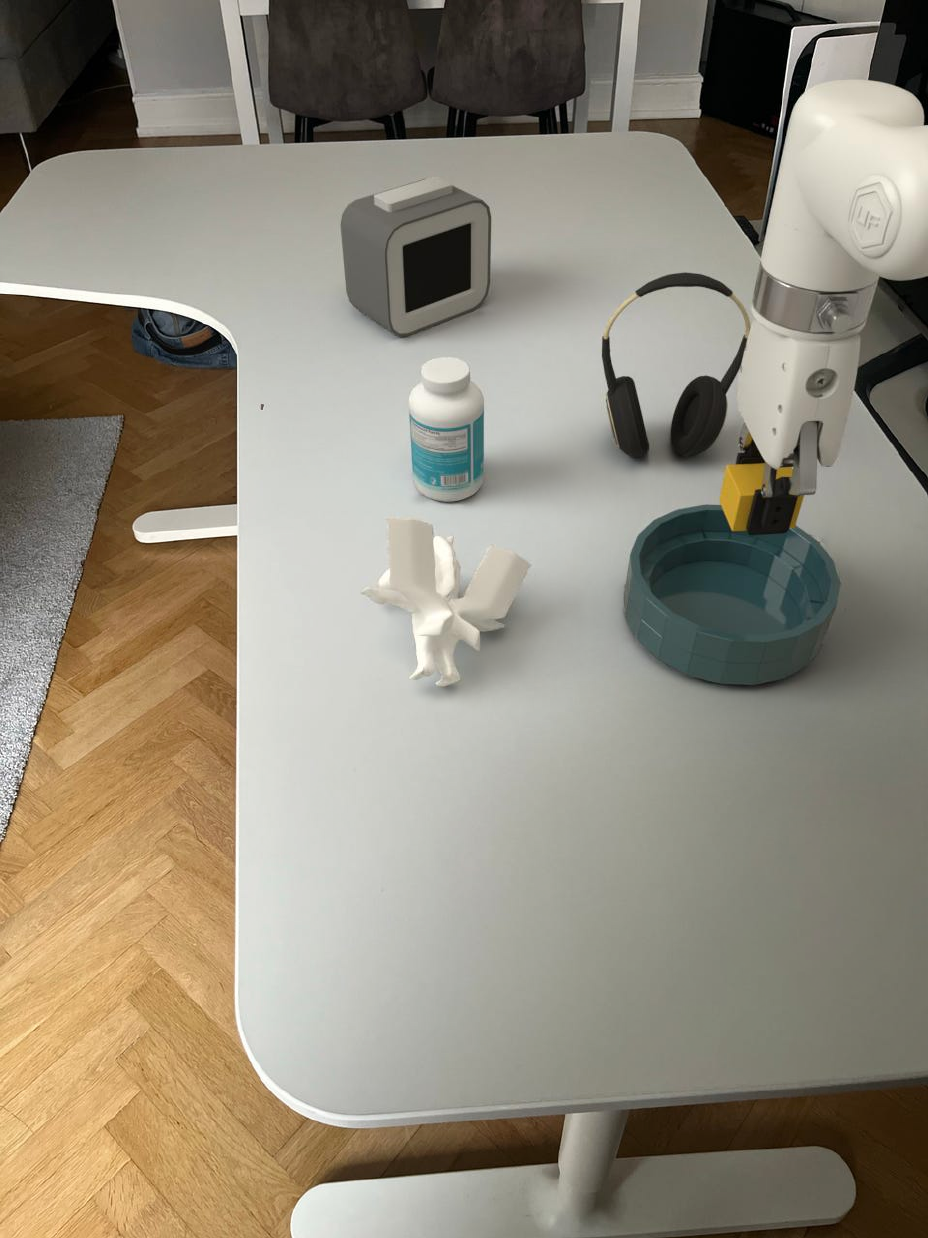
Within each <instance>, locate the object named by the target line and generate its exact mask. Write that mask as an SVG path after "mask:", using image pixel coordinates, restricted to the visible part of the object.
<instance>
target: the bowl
mask: <svg viewBox="0 0 928 1238" xmlns="http://www.w3.org/2000/svg"><path fill="white" fill-rule="evenodd" d="M841 582H842V581H841V579H840V577H839V573H838V570H837V567H836V564H835V561H834V559H833V558H832V557H831V556H830V554H829V553H828V552H827V551H826V549H825V548H824V547H823V546H822V544H821V543H820V542H819V541H818V540H817V539H815V537H813V536H812V535H810V534H809V533H807V532H806V531H805V530H804V529H802V528H801V527H799V526H798V525H797V524H796V525H795V528H789V530H788V531H787V532H786V533H783V534H767V535H749V534H748V532H747V531H732V530H731V527H730V525H729V523H728V520H727V518H726V516H725V513H724V511H723V509H722V506H721V504H700V505H695V506H689V507H683V508H678V509H675V510H673V511H671V512H667V513H666V514H664V515H661V516H659V517H657V518H655V519H653V520H652V521H651V522H650V523H649V524H648V525H647V526H646V527H645V528H644V529H642V531H640V533H638V534H637V536H636V538H635V541H634V543H633V545H632V549H631V551H630V553H629V560H628V566H627V573H626V579H625V585H624V592H623V606H624V617H625V620H626V622H627V624H628V626H629V628H630V629H631V632H632V633H633V636H634V637H635V639H636V640H637V641H638V642H639V643H640V644H641V645H642V646H643V647H644V648H645V649H646V650H648V651H649V652H650V653H651V654H652V655H653V656H654V657H655V658H656V659H657V660H659V662H662V663H664V664H665V665H668V666H670V667H672V668H674V669H676V670H677V671H679V672H681V673H683V674H685V675H687V676H690V677H693V678H697V679H701V680H704V681H708V682H712V683H715V684H719V685H720V684H721V685H724V684H725V685H742V686H743V685H747V686H756V685H760V684H764V683H769V682H774V681H775V682H776V681H779V680H783V679H786V678H788V677H789V676H791V675H792V674H795V673H796V672H798V671H799V670H801V669H803V668H806V667H807V666H809V664H810V663H811V662H812V660H813V659H814V657H816V655H817V653H818V652H819V651H820V650H821V649H822V647H823V645H824V642H825V639H826V637H827V633H828V631H829V629H830V625H831V622H832V620H833V617H834V614H835V611H836V609H837V606H838V602H839V596H840V590H841V584H842V583H841Z"/></svg>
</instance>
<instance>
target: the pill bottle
mask: <svg viewBox="0 0 928 1238" xmlns="http://www.w3.org/2000/svg"><path fill="white" fill-rule="evenodd" d="M420 370H421V371H420V382H418V383H417V385H416V386H414V387H413V389H412V390H411V392H410V394H409V397H408V417H409V433H410V434H409V436H410V452H411V453H410V454H411V466H412V481H413V484H414V486H415V488H416V490H418V492H419V493H420V494H421V495H423V496H425V497H426V498H429V499H430V500H434V501H438V502H457V501H461V500H465V499H467V498H469V497H472V496H473V495H475V494H476V493H477V492H478V491H479V490H480V488H481V487H482V486H483V483H484V478H485V399H484V398H485V397H484V395H483V392H482V390H481V388H480V387H479V386H478V385H477V384H476V383H475V382H473V381H472V380H471V370H470V365H469V364H468V363H467V362H466V361H465V360H462V359H461V358H457V357H453V356H452V357H451V356H440V357H436V358H433V359H430V360H428V361H426V362H425V363H424V364H423V365H422V366H421V368H420Z"/></svg>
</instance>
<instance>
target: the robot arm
mask: <svg viewBox="0 0 928 1238" xmlns="http://www.w3.org/2000/svg"><path fill="white" fill-rule="evenodd" d="M924 113H925V112H924V108H923V106H922V103H921V102H920V100H919V99H918V98H917V97H916V96H915V95H914V94H913V93H912V92H910V91H909V90H906V89H904V88H902V87H899V86H896V85H894V84H890V83H887V82H883V81H876V80H870V79H859V78H858V79H856V78H854V79H853V78H850V79H847V78H846V79H836V80H830V81H825V82H821V83H818V84H815V85H814V86H811V87H810V88H809V89H806V90H805V91H804V92H803V93H802V94H801V95H800V97H798V99H797V101H796V103H795V104H794V105H793V108H792V111H791V114H790V117H789V121H788V125H787V129H786V136H785V140H784V144H783V149H782V155H781V159H780V163H779V169H778V174H777V178H776V183H775V189H774V193H773V197H772V202H771V207H770V212H769V217H768V222H767V226H766V232H765V236H764V241H763V246H762V251H761V256H760V261H759V267H758V271H757V275H756V281H755V285H754V290H753V295H752V299H751V303H750V313H751V315H752V316H753V318H752V322H751V324H750V327H751V328H750V332H749V336H748V339H747V343H746V347H745V351H744V355H743V359H742V363H741V367H740V369H739V372H738V379H737V384H736V385H737V386H736V394H735V398H736V404H737V409H738V411H739V414H740V415H741V418H742V420H743V425H742V427H741V431H740V434H739V437H738V444H737V445H738V449H739V451H740V452H737V455H736V458H735V459H736V460H735V462H734V463H735V464H734V465H737V464H759V463H765V466H764V472H763V478H762V485H761V489H757V490H755V493H754V497H753V502H752V506H751V510H750V514H749V518H748V522H747V526H746V530H747V532H748V534H749V535H767V534H783V533H786V532H787V531H788V530H789V527H790V524H791V520H792V517H793V513H794V510H795V506H796V503H797V499H798V496H801V495H804V496H813V495H815V494H816V492H817V481H818V480H817V476H818V475H817V474H818V463H819V465H820V466H821V467H825V468H831V467H833V465H834V464H835V463H836V462H837V459H838V456H839V452H840V450H841V446H842V442H843V439H844V434H845V430H846V426H847V422H848V418H849V414H850V411H851V406H852V402H853V396H854V391H855V386H856V380H857V375H858V369H859V360H860V353H861V341H862V338H861V335H860V332H861V331H862V330H863V329H864V328H865V326H866V323H867V320H868V317H869V313H870V310H871V306H872V304H873V300H874V296H875V293H876V289H877V286H878V282H879V280H880V278H883V279H886V280H889V281H890V280H891V281H900V282H901V281H912V280H917V279H922V278H925V277H928V124H925V114H924ZM924 124H925V125H924ZM781 467H792V469H793V473H792V476H789V477H780V478H778V479H776V474H777V469H779V468H781Z"/></svg>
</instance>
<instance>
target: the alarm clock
mask: <svg viewBox="0 0 928 1238" xmlns="http://www.w3.org/2000/svg"><path fill="white" fill-rule="evenodd" d="M340 235H341V245H342V246H341V247H342V254H343V255H342V259H343V267H344V268H343V270H344V280H345V291H346V295H347V298H348V301H349V303H350V304H351V305H352V307H353V308H355V309H356V310H357V311H359V312H360V313H362V314H363V315H365V316H366V317H368V318H370V319H371V320H373V321H374V322H376V324H378V325H380V326H382V327H383V328H384V329H386V330H387V331H389V332H391V334H394V335H396V336H397V337H398V338H401V337H402V338H403V337H410V336H412V335H415V334H417V333H420V332H423V331H425V330H427V329H430V328H433V327H436V326H438V325H441V324H444V323H446V322H448V321H450V320H454V319H456V318H458V317H461V316H464V315H466V314H469V313H472V312H474V311H475V310H476V309H478V308H479V307H481V306H482V305H483V303H484V302H485V300H487V299H486V298H487V297H488V295H489V290H490V286H491V262H492V261H491V259H492V258H491V257H492V256H491V254H492V247H491V246H492V213H491V207H490V206H489V205H488V203H486V202H485V200H483V199H481V198H479V197H477V196H475V195H473V194H471V193H469V192H467V191H465V190H462V189H461V188H459V187H457V186H455V185H453V183H452V182H449V181H447V180H445V179H443V178H442V177H439V176H437V175H435V176H432V177H429V178H423V179H420V180H417V181H413V182H410V183H406V184H403V185H400V186H397V187H393V188H390V189H387V190H383V191H380V192H376V193H373V194H370V195H366V196H364V197H360V198H357V199H354V200H353V201H352V202H350V203H349V204H348V205H347V206H346V207H345V208H344V210H343V212H342V214H341V219H340Z"/></svg>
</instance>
